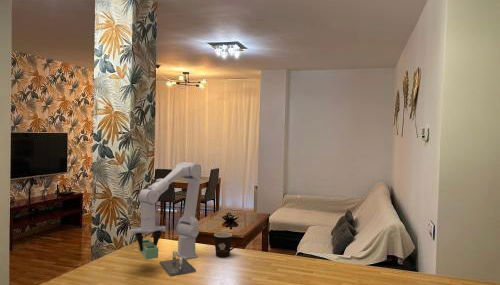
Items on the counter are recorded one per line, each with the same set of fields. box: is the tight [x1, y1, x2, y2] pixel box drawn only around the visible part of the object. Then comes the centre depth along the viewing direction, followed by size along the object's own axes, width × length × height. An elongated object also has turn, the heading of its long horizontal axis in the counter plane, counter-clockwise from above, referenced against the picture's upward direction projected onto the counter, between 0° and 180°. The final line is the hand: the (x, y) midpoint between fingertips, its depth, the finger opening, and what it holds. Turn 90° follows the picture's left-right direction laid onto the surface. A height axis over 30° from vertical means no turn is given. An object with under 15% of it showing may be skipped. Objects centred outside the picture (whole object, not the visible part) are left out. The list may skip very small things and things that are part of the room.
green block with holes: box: [137, 238, 159, 260], centre depth 166 cm, size 14×5×4 cm, turn 28°
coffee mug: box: [213, 231, 241, 259], centre depth 185 cm, size 12×9×10 cm
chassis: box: [159, 250, 197, 277], centre depth 169 cm, size 16×11×6 cm
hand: (147, 249), depth 166 cm, fingers closed on green block with holes, 5 cm apart
